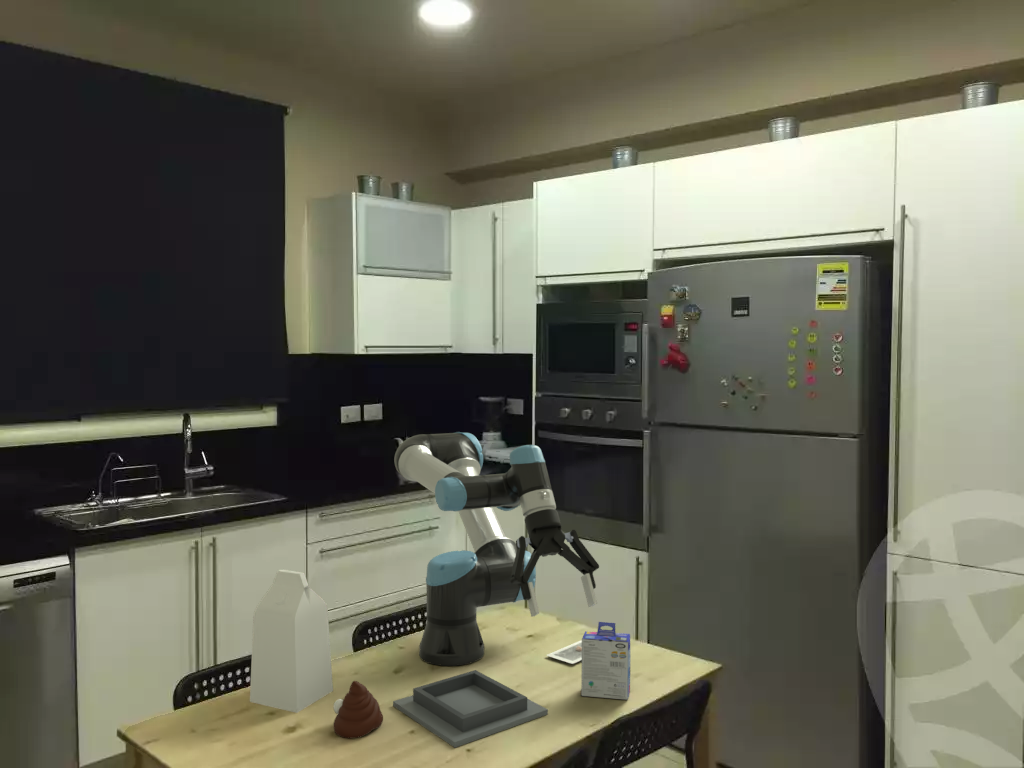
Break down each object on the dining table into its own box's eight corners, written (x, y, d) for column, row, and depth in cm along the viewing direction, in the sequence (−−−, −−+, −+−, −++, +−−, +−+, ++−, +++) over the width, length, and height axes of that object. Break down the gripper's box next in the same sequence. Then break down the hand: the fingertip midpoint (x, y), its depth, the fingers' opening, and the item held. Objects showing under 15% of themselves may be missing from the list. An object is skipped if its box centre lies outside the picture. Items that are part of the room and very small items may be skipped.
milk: (332, 690, 174) (331, 568, 173) (296, 712, 164) (295, 582, 162) (287, 681, 179) (286, 561, 178) (249, 701, 169) (248, 575, 167)
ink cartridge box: (630, 690, 175) (631, 622, 174) (629, 701, 169) (629, 631, 168) (584, 686, 177) (584, 619, 176) (580, 697, 171) (581, 627, 170)
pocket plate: (393, 706, 167) (392, 688, 166) (481, 678, 180) (481, 663, 180) (454, 747, 149) (454, 728, 149) (547, 714, 163) (547, 696, 163)
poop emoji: (356, 744, 151) (356, 694, 150) (322, 732, 155) (321, 683, 155) (392, 723, 159) (392, 675, 159) (359, 712, 164) (358, 666, 163)
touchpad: (545, 659, 192) (545, 650, 192) (585, 642, 204) (585, 634, 204) (572, 668, 187) (572, 659, 187) (611, 650, 198) (611, 641, 198)
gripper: (493, 513, 174) (516, 614, 165) (597, 502, 184) (623, 596, 175) (482, 525, 180) (503, 623, 171) (582, 513, 190) (608, 605, 181)
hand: (564, 610), depth 173 cm, fingers open, 13 cm apart
